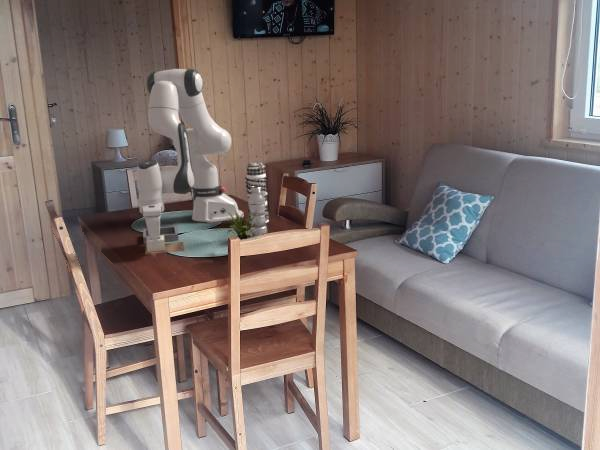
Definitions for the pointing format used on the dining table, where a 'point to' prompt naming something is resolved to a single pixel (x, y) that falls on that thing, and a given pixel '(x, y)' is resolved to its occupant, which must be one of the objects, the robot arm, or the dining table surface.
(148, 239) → the cream collar
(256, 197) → the plastic bottle
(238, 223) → the house plant
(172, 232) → the charcoal tray
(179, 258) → the dining table surface
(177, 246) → the walnut board
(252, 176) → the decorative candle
